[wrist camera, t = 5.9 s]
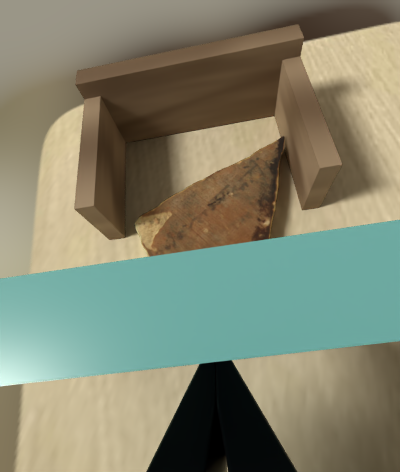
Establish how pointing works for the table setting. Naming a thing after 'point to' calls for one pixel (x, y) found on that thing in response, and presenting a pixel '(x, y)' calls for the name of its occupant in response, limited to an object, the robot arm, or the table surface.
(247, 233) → the shard
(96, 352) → the block
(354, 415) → the table surface
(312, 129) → the box
